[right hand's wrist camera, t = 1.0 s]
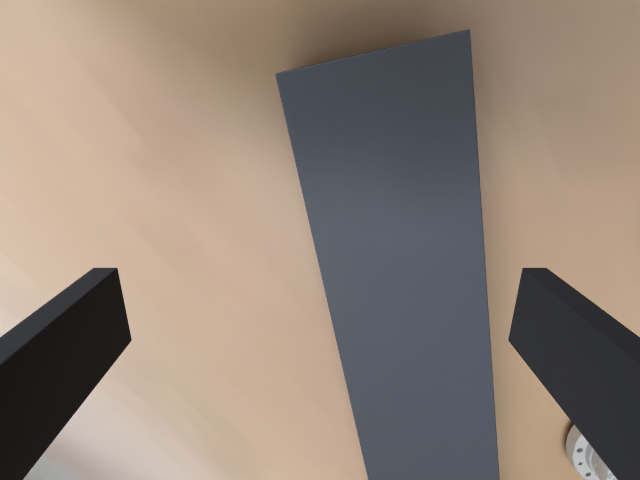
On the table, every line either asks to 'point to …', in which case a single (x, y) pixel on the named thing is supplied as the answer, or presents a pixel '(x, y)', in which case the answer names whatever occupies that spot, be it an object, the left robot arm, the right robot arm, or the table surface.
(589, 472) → the mechanical component
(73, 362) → the right robot arm
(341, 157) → the thick board
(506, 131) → the table surface
